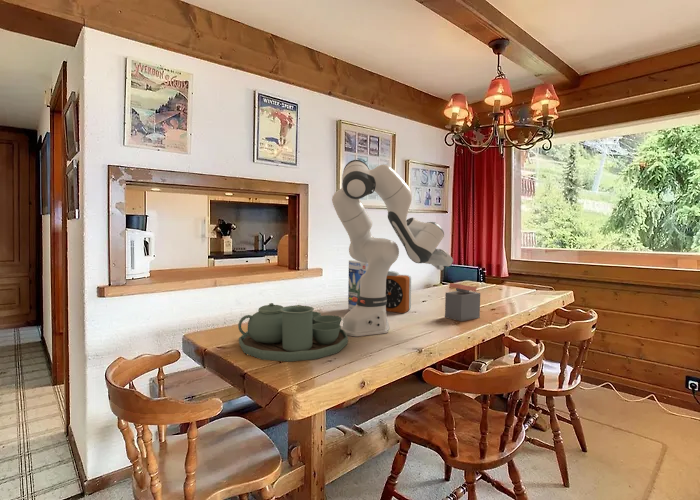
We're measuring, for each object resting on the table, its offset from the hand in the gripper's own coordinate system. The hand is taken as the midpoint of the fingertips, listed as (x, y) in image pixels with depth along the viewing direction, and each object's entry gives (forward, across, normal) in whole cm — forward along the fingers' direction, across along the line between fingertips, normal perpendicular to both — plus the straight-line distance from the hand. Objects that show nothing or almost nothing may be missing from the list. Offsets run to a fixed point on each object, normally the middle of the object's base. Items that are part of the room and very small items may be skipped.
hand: (440, 268), depth 187 cm
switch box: (+28, 0, +6) cm, 29 cm away
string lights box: (+5, +38, +30) cm, 49 cm away
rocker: (+19, 0, -2) cm, 19 cm away
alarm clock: (+15, +31, +20) cm, 40 cm away
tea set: (-33, +5, +68) cm, 76 cm away
